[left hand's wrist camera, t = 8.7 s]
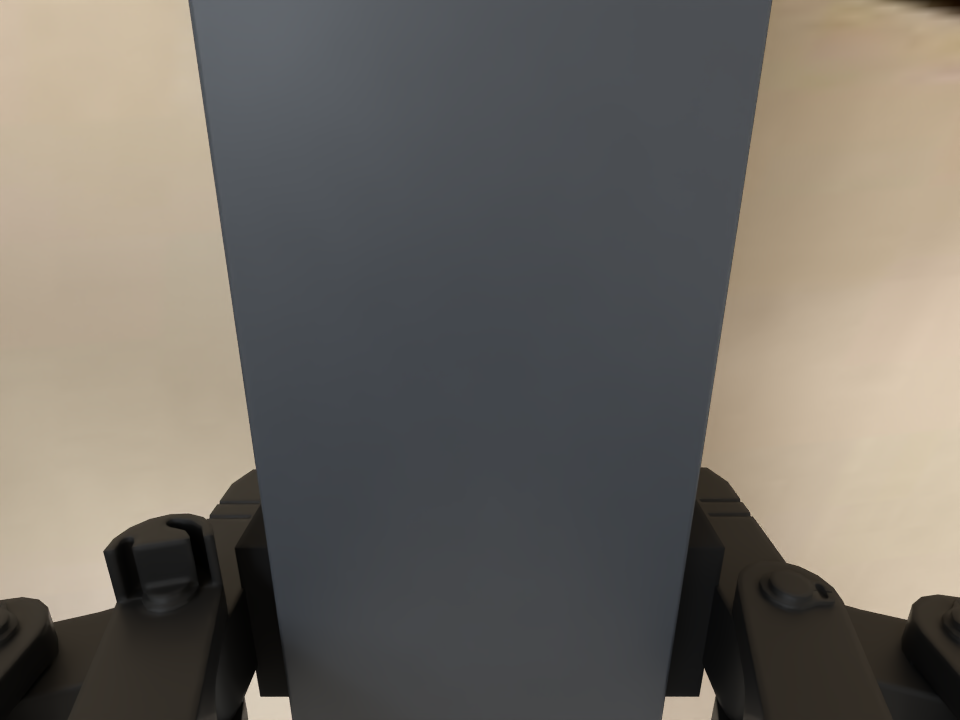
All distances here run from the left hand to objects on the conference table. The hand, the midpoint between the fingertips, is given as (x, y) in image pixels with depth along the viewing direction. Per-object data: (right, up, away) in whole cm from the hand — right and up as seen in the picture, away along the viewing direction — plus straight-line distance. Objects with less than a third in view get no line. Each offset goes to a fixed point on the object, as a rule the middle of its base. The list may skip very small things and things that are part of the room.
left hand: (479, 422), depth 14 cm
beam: (0, +34, -12) cm, 36 cm away
